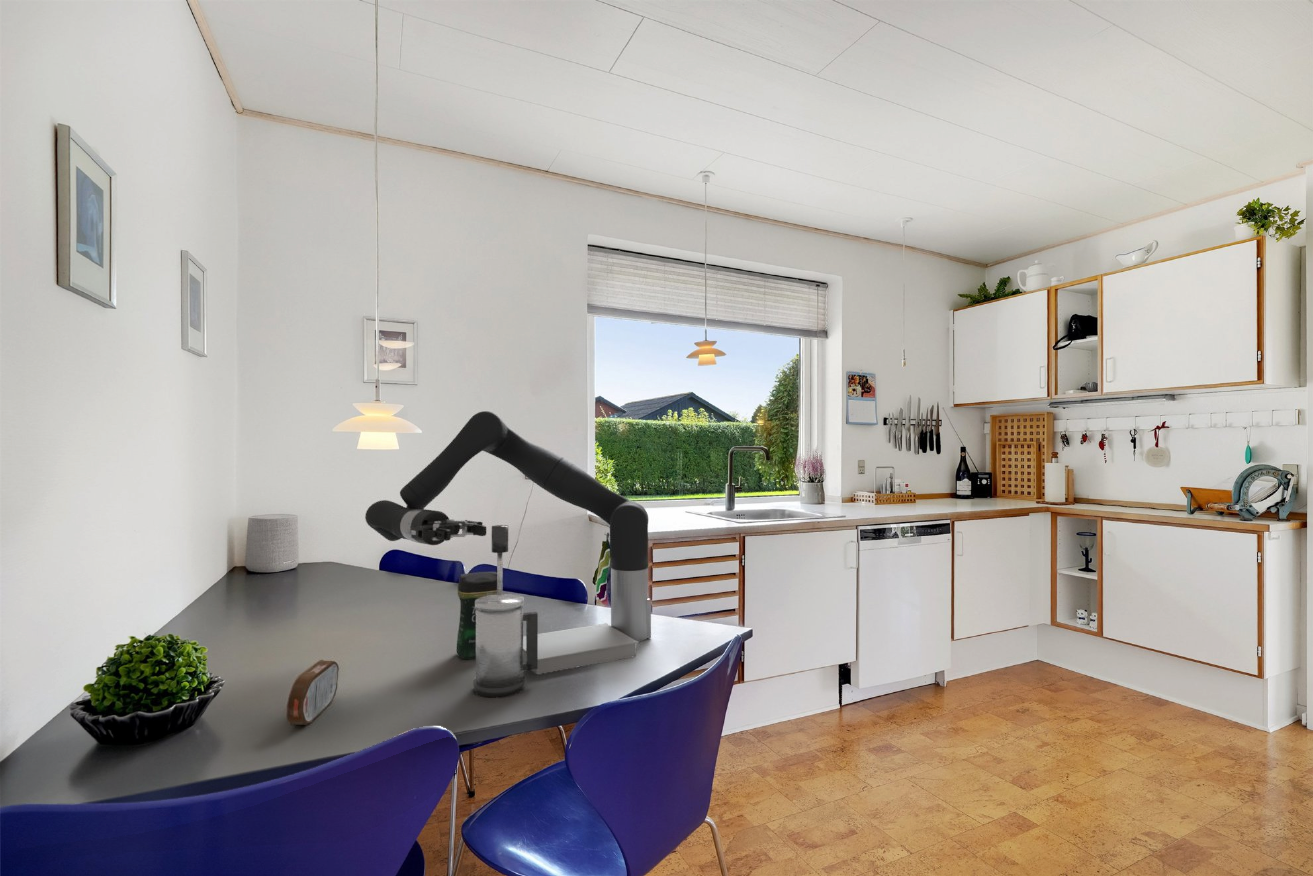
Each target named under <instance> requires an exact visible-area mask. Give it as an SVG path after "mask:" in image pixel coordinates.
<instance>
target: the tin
mask: <svg viewBox="0 0 1313 876" xmlns="http://www.w3.org/2000/svg"><path fill="white" fill-rule="evenodd" d="M339 670H340V667H339V664H338V663H337V662H336V661H334V660H324V659H319V660H318V661H317V662H315V663H314V664H313V665H311V666H310V667H309V668H307V669H306V670H304V671H303V672H302V673H301V674H299V675H298V676H297V677H296V679H295V680H294V682H293V683H292V686H291V689H290V692H289V695H288V699H287V704H286V719H287V722H288V723H289V725H290V726H296V725H297V726H306V725H310V724H311V723H313V721H314V720H315V719H317V718H318V717H320V715H321V714H322V713H323V712H324V711H326V709H327V708H328V707H329V706H330V705H331V704H332V702H333V701H334V698H335V696H336V693H337V690H338V679H339ZM317 716H318V717H317Z"/></svg>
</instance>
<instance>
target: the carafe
mask: <svg viewBox="0 0 1313 876" xmlns="http://www.w3.org/2000/svg"><path fill="white" fill-rule="evenodd" d="M524 607H525V597H524V596H522V595H519V594H511V593H510V594H509V593H508V594H507V593H502V595H500V596H499V595H489V596H484V597H481V598H478V599H476V600H475V609H476V659H475V679H474V680H473V693H474V694H475V695H476V696H479V697H483V698H488V699H489V698H491V699H496V697H499V698H506V697H510V695H511V696H514V695H516V694H515V693H517V694H519V693H520V691H521V692H522V691H524V690H525V688H526V676H525V675H524V671H532V670H533V669H538V634H539V633H538V629H539V627H538V626H539V625H538V624H539V622H538V619H539V618H538V616H539V615H538V612H537V611H531V612H524ZM525 621H526V625H525V626H526V627H525V629H526V630H525V631H526V634H525V636H526V662H523V636H524V622H525ZM513 694H514V695H513ZM505 696H506V697H505Z"/></svg>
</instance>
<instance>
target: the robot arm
mask: <svg viewBox="0 0 1313 876" xmlns="http://www.w3.org/2000/svg"><path fill="white" fill-rule="evenodd" d="M457 433H458V434H456V436H455V437H454V438H453V439H452V441H450V443H449V444H447V446H446V447H445V448H444V449H443V450H442V451H441V452H440V453H439V454H438V455H437V456H436V457H435V458H433V460H432V461H431V462H430V463H428V464H427V465H426V466H425V468H423V469H422V470H421V471H420V472H419V473H418V474H416V475H415V476H414V477H413V478H412V479H411V480H409V482H408V483H406V484H405V485H404V486H403V487H402V488H401V490H400V491H399V495H400V498H401V499H402V501H403V502H404V503H405V504H406V507H405V506H403V505H401V504H399V503H396V502H394V501H391V500H387V499H384V500H379V501H378V500H377V501H376V502H374V503H372V504H371V505H370V506H369V507H368V508H367V510H366V511H365V517H364V519H365V522H366V524H367V525H368V526H369V527H370V528H371V529H373V530H374V531H375V532H377V533H378V534H380V536H382V537H383V538H385V539H386V540H387V541H389V542H396V541H400V540H408V541H411V542H414V543H419V544H424V545H428V546H438V545H441V544H443V542H445V541H446V542H448V541H451V539H453V538H465V537H467V536H480V537H486V536H487V526H486V525H484V524H483V522H482V521H473V520H467V519H465V520H455V519H454V518H453V519H450V517H449V516H448V515H447V514H446V513H445V512H443V511H439V510H432V509H425V508H426V507H427V506H428V505H429V504H431V502H433V501H434V499H436V498H437V497H438V496H439V495H440V494H442V492H444V490H445V489H446V488H447V487H448V486H449V484H450V483H451V482H452V480H454V478H455V476H456V475H457V474H458V473H459V471H460V470H461V469H462V468H463V467H464V466H465V465H466V464H467V463H468V462H470V460H472V458H473V459H474V457H476V455H478V454H479V453H481V452H485V453H488V454H489V455H492V456H494V457H495V458H497V459H500V460H502V461H504V462H506V463H508V465H511V466H513V467H514V468H515V469H517V470H518V471H519V472H520V473H521V474H523V475H524V476H525V477H526V478H528V479H529V480H530V481H532V482H533V483H535V484H536V485H537V486H538V487H540V488H542V489H543V490H544V491H546V492H547V493H549V494H551V495H553V496H554V497H556V498H558V499H559V500H562V501H564V502H566V503H569V504H571V505H574V506H576V507H579V508H581V509H584V510H586V511H588V512H590V513H592V514H594V515H596V517H599V518H600V519H601V520H602V521H604V522H605V523H607V525H609V554H610V555H609V557H610V626H611V627H613V628H615V629H617V630H618V631H620V632H622V633H624V634H625V635H627V636H629V637H631V638H632V639H634V640H636V641H638V642H642V640H643V641H645V640H647V638H648V639H651V638H652V600H651V598H649V550H648V549H649V547H648V546H649V537H648V536H649V515H648V512H647V511H646V508H644V506H643V505H641V504H639V503H638V502H635V501H633V500H631V499H629V498H627V497H625V496H623V495H620V494H619V493H617V492H615V491H613V490H611V489H609V488H608V487H606V486H605V485H603V483H600V481H598V480H597V479H595V478H594V477H593V476H591V474H589V473H587V472H586V471H585V470H584V469H581V468H580V467H579V466H578V465H576V464H574V463H573V462H572V461H569V460H568V459H566V458H565V457H564V456H561V455H559V454H558V453H556V452H554V451H551V450H549V449H547V448H544V447H542V446H539V445H537V444H534V443H533V442H530V441H528V440H526V439H525V438H524V437H522V436H521V435H519V434H518V433H517V432H515V431H514V430H513V429H511V428H510V427H509V426H508V425H507V424H506V423H505V421H503V420H502V418H501V417H500V416H499V415H497V414H496V413H494V412H492V411H488V410H487V411H486V410H484V411H479V412H477V413H475V414H474V415H473V416H472V417H470V418H469V420H467V422H466V423H465V424H464V425H463V427H462V428H461V430H460V431H459V432H457ZM460 530H461V533H460Z"/></svg>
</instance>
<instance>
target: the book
mask: <svg viewBox="0 0 1313 876" xmlns="http://www.w3.org/2000/svg"><path fill="white" fill-rule="evenodd" d="M637 644H639V641H636V640H634V639H632V638H631V637H629V636H627V635H625V634H624V633H622V632H620V631H618V630H617V629H615V628H613V627H611V624H608V623H600V624H593V625H588V626H581V627H573V628H567V629H561V630H555V631H549V632H543V633H538V669H533V671H534V672H535V673H536V674H539V675H543V674H542V673H544V674H547V673H546V672H550V673H554V672H553V671H555V672H559V671H558V670H560V671H564V670H563V669H566V670H569V669H568V668H571V669H575V668H574V667H576V668H578V667H577V666H582V667H586V665H587V666H591V665H590V664H592V665H597V663H598V664H601V662H603V663H607V662H612V661H617V660H618V659H619V660H623V659H622V658H624V659H628V658H633V657H632V656H635V657H636V656H637V653H636V651H637ZM523 662H526V635H523ZM533 671H532V672H533ZM534 672H533V673H534ZM535 673H534V674H535ZM536 674H535V675H536Z"/></svg>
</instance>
